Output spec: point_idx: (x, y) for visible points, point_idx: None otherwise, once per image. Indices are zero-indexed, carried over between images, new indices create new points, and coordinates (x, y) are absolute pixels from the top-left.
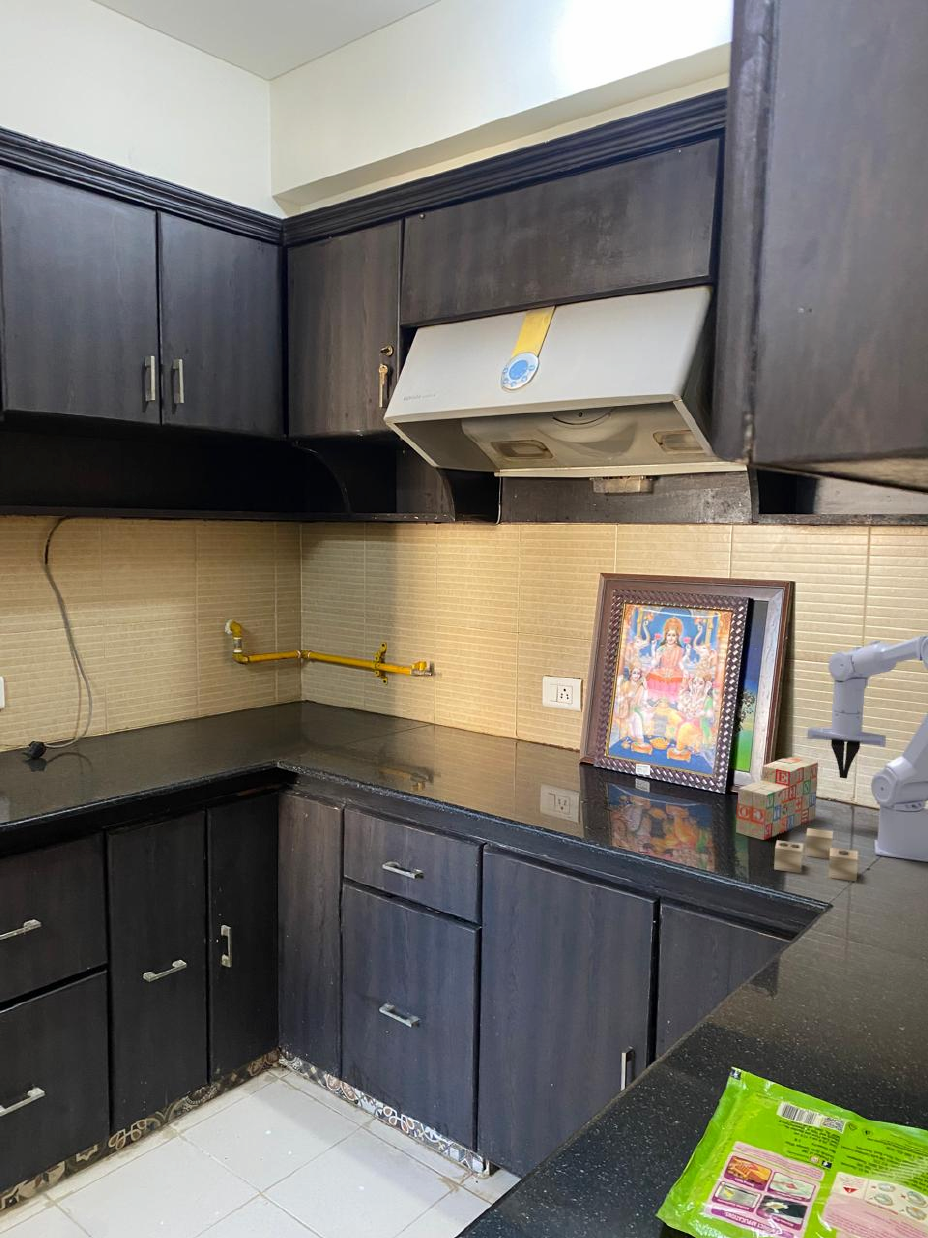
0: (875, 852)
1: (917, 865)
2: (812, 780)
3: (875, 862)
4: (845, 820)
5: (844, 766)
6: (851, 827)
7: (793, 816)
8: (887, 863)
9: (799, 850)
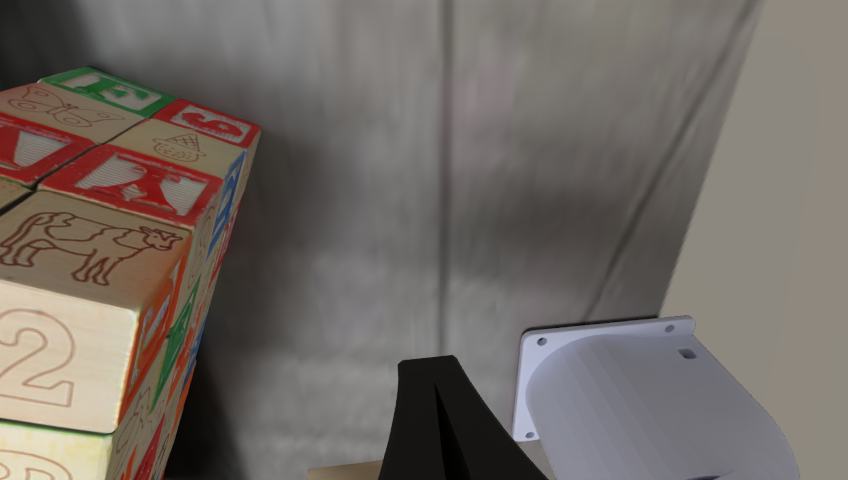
0: (513, 436)
1: None
2: (182, 301)
3: None
4: (412, 83)
5: (447, 448)
6: (442, 188)
7: (192, 349)
8: (536, 466)
9: None
